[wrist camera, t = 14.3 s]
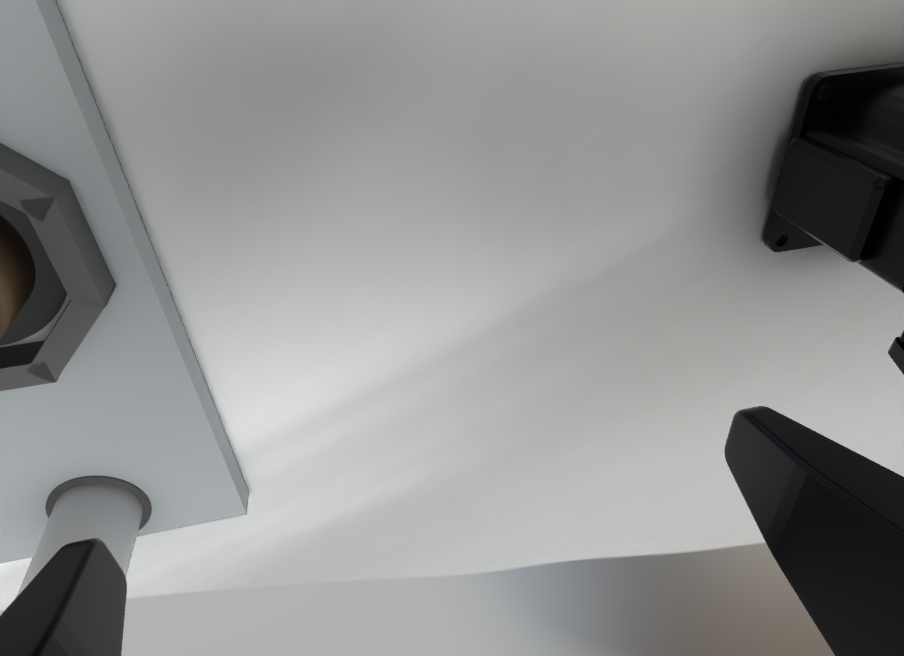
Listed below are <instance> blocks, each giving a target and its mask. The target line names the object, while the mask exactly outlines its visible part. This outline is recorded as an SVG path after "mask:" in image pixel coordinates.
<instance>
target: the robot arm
mask: <svg viewBox="0 0 904 656" xmlns="http://www.w3.org/2000/svg"><path fill="white" fill-rule="evenodd" d="M823 85H824V88H823V90H822V92H821V93H820V94H819V95H818V91H819V89H820V88H821V87H822V86H823ZM780 236H781V237H780ZM778 237H780V238H779V239H778V240H777V238H778ZM776 240H777V241H776ZM764 244H765V246H767V247H768V248H769V249H771V250H772V251H774V252H782V251H788V250H794V249H801V248H807V247H813V246H819V245H825V246H827V247H828V248H830V249H831V250H833V251H834V252H836V253H837V254H839V255H840V256H842V257H843V258H845V259H846V260H848V261H850V262H857V263H858V264H860V265H861V266H863V267H864V268H866V269H867V270H869V271H871V272H872V273H874V274H875V275H877V276H878V277H880V278H881V279H883V280H884V281H886V282H887V283H889V284H891V285H892V286H894V287H895V288H897V289H898V290H900V291H901V292H903V293H904V63H896V64H888V65H880V66H872V67H864V68H856V69H848V70H840V71H831V72H823V73H819V74H816V75H814V76H813V77H812V78H810V79H809V81H808V82H807V83H806V85H805V87H804V89H803V92H802V96H801V100H800V104H799V107H798V111H797V115H796V119H795V122H794V126H793V130H792V134H791V137H790V141H789V145H788V149H787V152H786V156H785V160H784V164H783V167H782V171H781V175H780V179H779V182H778V186H777V190H776V194H775V197H774V201H773V205H772V209H771V212H770V216H769V220H768V224H767V227H766V231H765V235H764ZM888 354H889V355H890V357H891V358H892V359H893V361H894V362H895V363H896V365H897V366H898V367H899V369H900V370H901V371H902V373H903V374H904V331H903V332H902V334H901V336H900V337H897V338H895V340H894V342H893V344H892V345H891V347H890V349H889V351H888ZM725 458H726V462H727V464H728V466H729V468H730V470H731V473H732V475H733V477H734V479H735V481H736V483H737V485H738V487H739V489H740V491H741V493H742V495H743V497H744V499H745V501H746V503H747V505H748V507H749V509H750V511H751V513H752V515H753V517H754V519H755V521H756V523H757V525H758V527H759V529H760V531H761V533H762V535H763V537H764V540H765V541H766V543H767V545H768V547H769V549H770V551H771V553H772V555H773V556H774V558H775V559H776V561H777V563H778V565H779V566H780V568H781V570H782V571H783V573H784V575H785V576H786V578H787V579H788V581H789V583H790V584H791V586H792V587H793V589H794V591H795V592H796V594H797V595H798V597H799V599H800V600H801V602H802V603H803V605H804V607H805V608H806V610H807V611H808V613H809V615H810V616H811V618H812V619H813V621H814V623H815V624H816V626H817V627H818V629H819V631H820V632H821V634H822V635H823V637H824V639H825V640H826V642H827V643H828V645H829V647H830V648H831V650H832V651H833V653H834V655H835V656H904V477H902V476H901V475H899V474H897V473H895V472H893V471H891V470H889V469H887V468H885V467H883V466H881V465H879V464H877V463H875V462H873V461H871V460H869V459H868V458H866V457H864V456H862V455H860V454H858V453H856V452H854V451H852V450H850V449H848V448H846V447H844V446H842V445H840V444H838V443H836V442H835V441H833V440H831V439H829V438H827V437H825V436H823V435H821V434H819V433H817V432H815V431H813V430H811V429H809V428H807V427H805V426H803V425H802V424H800V423H798V422H796V421H794V420H792V419H790V418H788V417H786V416H784V415H782V414H780V413H778V412H776V411H774V410H772V409H770V408H768V407H764V406H758V407H753V408H748V409H743V410H739V411H738V412H737V413H736V414H735V415H734V417H733V420H732V424H731V427H730V431H729V434H728V438H727V441H726V445H725ZM126 593H127V583H126V577H125V574H124V572H123V570H122V568H121V567H120V565H119V564H118V562H117V561H116V559H115V558H114V556H113V555H112V553H111V552H110V550H109V549H108V547H107V546H106V544H105V543H104V542H103V541H102V540H100V539H98V538H91V539H86V540H81V541H76V542H71V543H68V544H66V545H64V546H63V547H61V548H60V549H59V550H58V551H57V552H56V553H55V554H54V556H53V557H52V558H51V559H50V560H49V561H48V562H47V564H46V565H45V566H44V567H43V568H42V569H41V570H40V571H39V573H38V574H37V575H36V576H35V577H34V578H33V579H32V580H31V582H30V583H29V584H28V585H27V586H26V587H25V588H24V589H23V591H22V592H21V593H20V594H19V595H18V596H17V597H16V598H15V600H14V601H13V602H12V603H11V604H10V605H9V606H8V607H7V609H6V610H5V611H4V612H3V613H2V614H1V615H0V656H121V651H122V639H123V627H124V615H125V604H126Z"/></svg>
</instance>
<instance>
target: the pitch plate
mask: <svg viewBox="0 0 904 656" xmlns="http://www.w3.org/2000/svg"><path fill="white" fill-rule="evenodd" d="M0 215H1V216H2V217H4V218H5V219H6V220H7V221H8V222H9V223H10V224H11V225H12V226H13V227H14V228H15V229H16V230H17V232H18V233H19V234H20V235H21V236H22V238H23V240H24V241H25V243H26V244H27V246H28V248H29V250H30V252H31V254H32V257H33V261H34V265H35V271H36V274H35V284H34V288H33V291H32V293H31V296H30V297H29V299H28V300H27V302H26V303H25V304H24V306H23V307H22V309H21V310H20V312H19V313H18V314H17V316H16V317H15V319H14V320H13V321H12V323H11V324H10V326H9V327H8V329H7V330H6V331H5V333H4V334H3V336H2V337H1V339H0V563H5V562H10V561H15V560H20V559H25V558H30V557H33V558H32V561H31V563H30V566H29V568H28V570H27V573H26V575H25V578H24V580H23V582H22V585H21V587H20V590H19V592H18V595H19V594H20V593H21V592H22V591H23V589H24V588H25V587H26V586H27V585H28V584H29V583H30V582H31V580H32V579H33V578H34V577H35V576H36V575H37V574H38V573H39V571H40V570H41V569H42V568H43V567H44V566H45V565H46V564H47V562H48V561H49V560H50V559H51V558H52V557H53V556H54V554H55V553H56V552H57V551H58V550H59V549H60V548H61V547H63V546H64V545H66V544H68V543H71V542H76V541H81V540H86V539H91V538H98V539H100V540H102V541H103V542H104V543H105V544H106V546H107V547H108V549H109V550H110V552H111V553H112V555H113V556H114V558H115V559H116V561H117V562H118V564H119V565H120V567H121V568H122V570H123V572H124V574H125V577H126V575H127V571H128V567H129V563H130V560H131V556H132V552H133V548H134V544H135V541H136V537H137V536H141V535H146V534H151V533H156V532H161V531H167V530H172V529H177V528H182V527H187V526H192V525H197V524H202V523H207V522H212V521H217V520H222V519H227V518H232V517H237V516H242V515H247V507H248V496H249V491H248V488H247V486H246V483H245V481H244V478H243V476H242V473H241V471H240V468H239V466H238V463H237V461H236V458H235V455H234V453H233V450H232V448H231V445H230V443H229V440H228V438H227V435H226V433H225V430H224V428H223V425H222V422H221V420H220V417H219V415H218V412H217V410H216V407H215V405H214V402H213V400H212V397H211V394H210V392H209V389H208V387H207V384H206V382H205V379H204V377H203V374H202V372H201V369H200V367H199V364H198V361H197V359H196V356H195V354H194V351H193V349H192V346H191V344H190V341H189V339H188V336H187V334H186V331H185V328H184V326H183V323H182V321H181V318H180V316H179V313H178V311H177V308H176V306H175V303H174V301H173V298H172V295H171V293H170V290H169V288H168V285H167V283H166V280H165V278H164V275H163V273H162V270H161V267H160V265H159V262H158V260H157V257H156V255H155V252H154V250H153V247H152V245H151V242H150V240H149V237H148V234H147V232H146V229H145V227H144V224H143V222H142V219H141V217H140V214H139V212H138V209H137V207H136V204H135V201H134V199H133V196H132V194H131V191H130V189H129V186H128V184H127V181H126V179H125V176H124V173H123V171H122V168H121V166H120V163H119V161H118V158H117V156H116V153H115V151H114V148H113V146H112V143H111V140H110V138H109V135H108V133H107V130H106V128H105V125H104V123H103V120H102V118H101V115H100V113H99V110H98V107H97V105H96V102H95V100H94V97H93V95H92V92H91V90H90V87H89V85H88V82H87V79H86V77H85V74H84V72H83V69H82V67H81V64H80V62H79V59H78V57H77V54H76V52H75V49H74V46H73V44H72V41H71V39H70V36H69V34H68V31H67V29H66V26H65V24H64V21H63V19H62V16H61V13H60V11H59V8H58V6H57V3H56V1H55V0H0ZM18 595H17V596H18Z"/></svg>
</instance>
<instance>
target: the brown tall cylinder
mask: <svg viewBox="0 0 904 656" xmlns="http://www.w3.org/2000/svg"><path fill="white" fill-rule="evenodd" d="M35 274H36V271H35V265H34V261H33V257H32V254H31V252H30V250H29V248H28V246H27V244H26V243H25V241H24V240H23V238H22V236H21V235H20V234H19V233H18V232H17V230H16V229H15V228H14V227H13V226H12V225H11V224H10V223H9V222H8V221H7V220H6V219H5V218H4V217H2V216H1V215H0V339H1V337H2V336H3V334H4V333H5V331H6V330H7V329H8V327H9V326H10V324H11V323H12V321H13V320H14V319H15V317H16V316H17V314H18V313H19V312H20V310H21V309H22V307H23V306H24V304H25V303H26V302H27V300H28V299H29V297H30V296H31V293H32V291H33V288H34V284H35Z"/></svg>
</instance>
